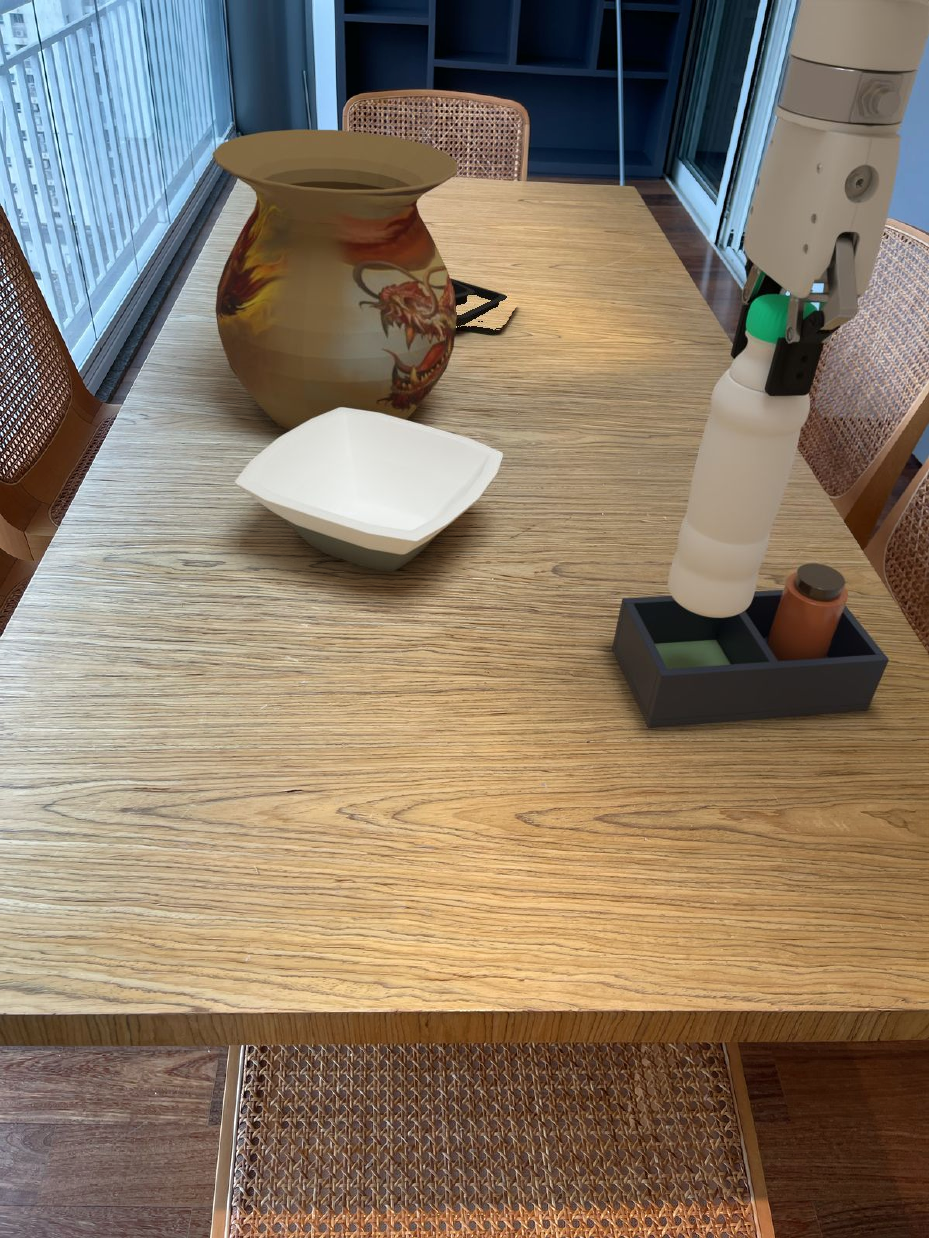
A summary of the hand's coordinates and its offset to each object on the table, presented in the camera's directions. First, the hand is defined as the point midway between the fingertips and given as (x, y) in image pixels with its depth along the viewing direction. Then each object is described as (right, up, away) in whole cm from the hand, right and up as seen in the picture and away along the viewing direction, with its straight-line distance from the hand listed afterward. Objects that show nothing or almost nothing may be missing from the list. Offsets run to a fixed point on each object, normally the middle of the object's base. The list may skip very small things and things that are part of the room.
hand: (768, 373), depth 72 cm
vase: (-38, +10, +57) cm, 69 cm away
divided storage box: (+3, -23, +19) cm, 30 cm away
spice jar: (+8, -22, +19) cm, 30 cm away
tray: (-28, +30, +85) cm, 94 cm away
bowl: (-31, -9, +33) cm, 47 cm away
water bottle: (-1, -16, +12) cm, 20 cm away
